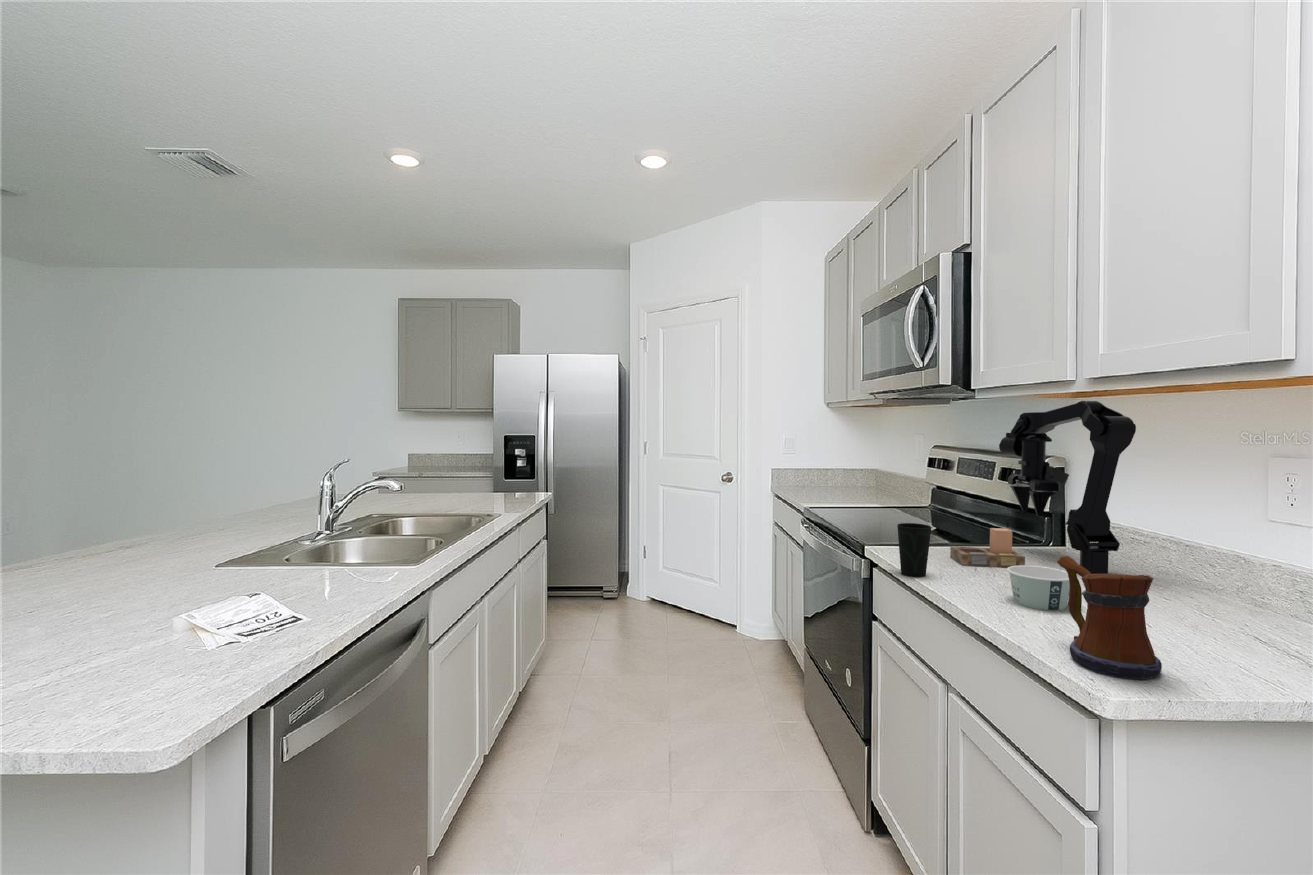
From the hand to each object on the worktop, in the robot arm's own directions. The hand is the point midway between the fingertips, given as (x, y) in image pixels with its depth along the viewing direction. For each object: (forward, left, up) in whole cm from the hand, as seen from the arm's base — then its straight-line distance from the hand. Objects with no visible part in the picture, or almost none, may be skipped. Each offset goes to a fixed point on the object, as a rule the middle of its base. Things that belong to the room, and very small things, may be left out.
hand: (1031, 513), depth 170 cm
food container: (-48, +18, -12) cm, 53 cm away
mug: (-78, +22, -12) cm, 82 cm away
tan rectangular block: (-11, +12, -12) cm, 20 cm away
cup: (-28, +38, -12) cm, 49 cm away
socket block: (-11, +16, -12) cm, 22 cm away
